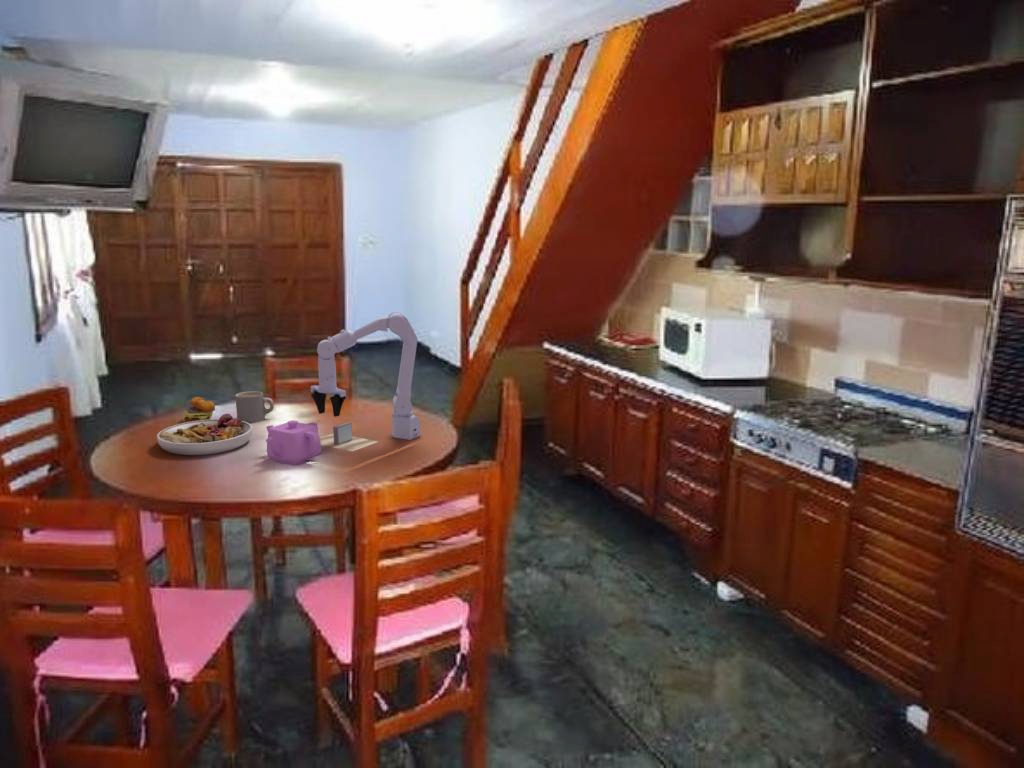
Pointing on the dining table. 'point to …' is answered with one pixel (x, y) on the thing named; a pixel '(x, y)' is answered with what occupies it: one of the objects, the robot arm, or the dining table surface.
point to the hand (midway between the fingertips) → (329, 414)
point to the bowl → (205, 436)
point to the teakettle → (293, 442)
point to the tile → (342, 433)
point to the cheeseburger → (199, 410)
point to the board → (346, 443)
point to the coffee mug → (252, 406)
